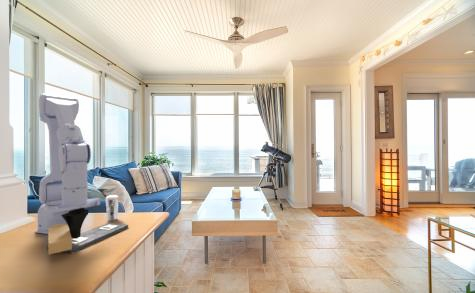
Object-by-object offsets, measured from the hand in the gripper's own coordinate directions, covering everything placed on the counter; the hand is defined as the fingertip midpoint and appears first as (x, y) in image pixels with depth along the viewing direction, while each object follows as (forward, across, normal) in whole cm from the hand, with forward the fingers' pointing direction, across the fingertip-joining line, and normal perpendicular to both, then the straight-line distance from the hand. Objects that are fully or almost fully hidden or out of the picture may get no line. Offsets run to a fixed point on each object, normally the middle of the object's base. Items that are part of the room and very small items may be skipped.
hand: (75, 237), depth 63 cm
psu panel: (+2, +6, +1) cm, 7 cm away
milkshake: (+3, +22, +9) cm, 24 cm away
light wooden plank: (0, -2, +3) cm, 4 cm away
